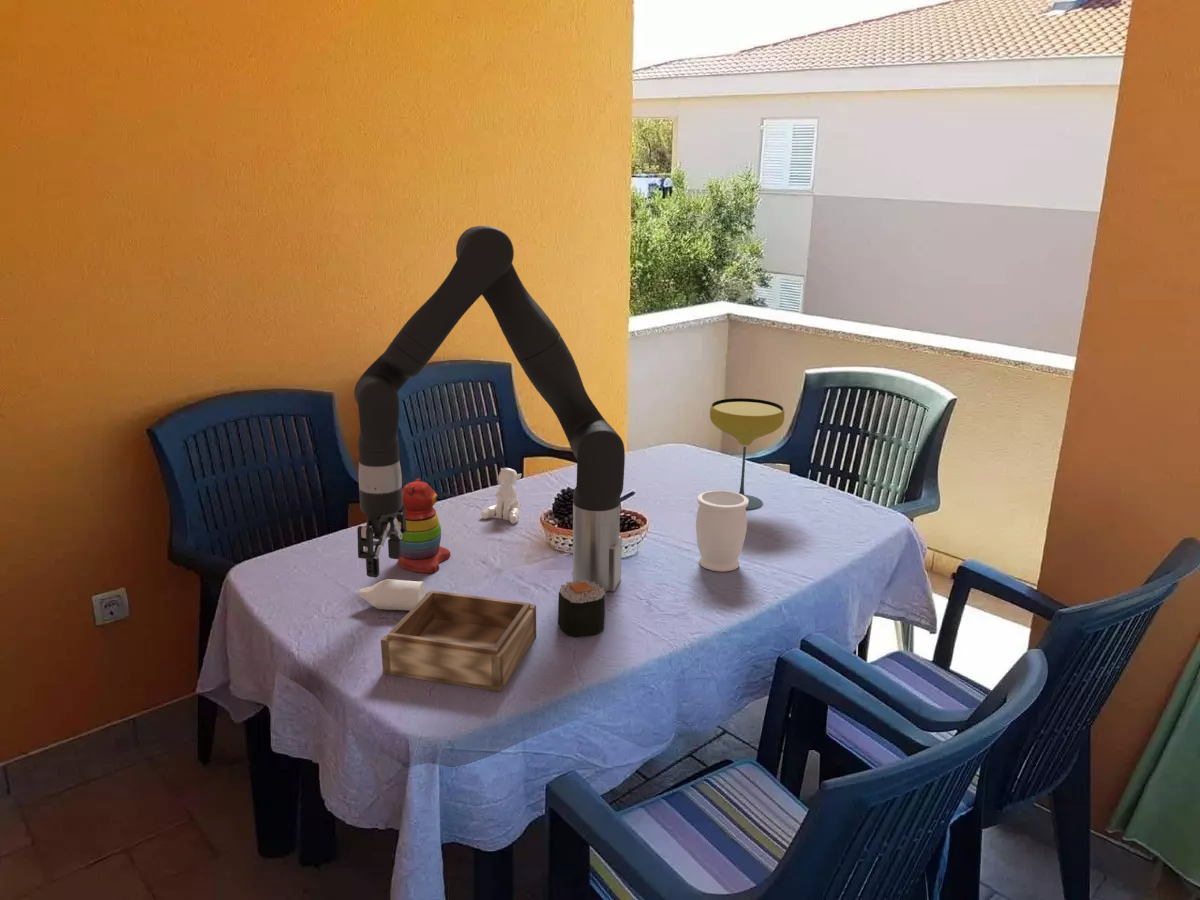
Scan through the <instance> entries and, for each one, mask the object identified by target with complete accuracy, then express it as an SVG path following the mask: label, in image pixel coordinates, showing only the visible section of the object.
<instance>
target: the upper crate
mask: <svg viewBox="0 0 1200 900" xmlns="http://www.w3.org/2000/svg"><path fill="white" fill-rule="evenodd" d="M429 591H430V592H429V593H428V594H427V595H426V596H425V597H424V598H423V599H422V600H421V601H420V602H419V603H418V604H417V605H416V606H415V607H414V608H413V609H412V610H411V611H408V613H406V614H405V616H404V617H403V618H401V620H400V621H398V622H397V624H396V625H395V626H394V627H395V628H394V627H393V628H394V629H393V628H392V629H393V630H392V629H391V630H392V631H391V630H390V631H391V632H390V631H389V632H390V633H389V632H388V633H389V634H388V633H387V634H388V635H387V634H386V635H387V637H388V638H390V639H391V640H397V641H403V642H410V643H417V644H424V645H431V646H437V647H444V648H451V649H458V650H465V651H471V652H478V653H485V654H497V653H498V652H499V651H500V650H501V648H502V647H503V646H504V644H505V643H506V641H507V640H508V638H509V637H510V636H511V634H512V633H513V631H514V630H515V628H516V627H517V626H518V624H519V623H520V621H521V620H522V619H523V617H524V616H525V614H526V613H527V611H528V610H529V608H530V604H531V603H530V602H523V601H516V600H509V599H508V600H507V599H501V598H491V597H484V596H477V595H472V594H471V595H468V594H463V593H454V592H447V591H446V592H445V591H439V590H429Z"/></svg>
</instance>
